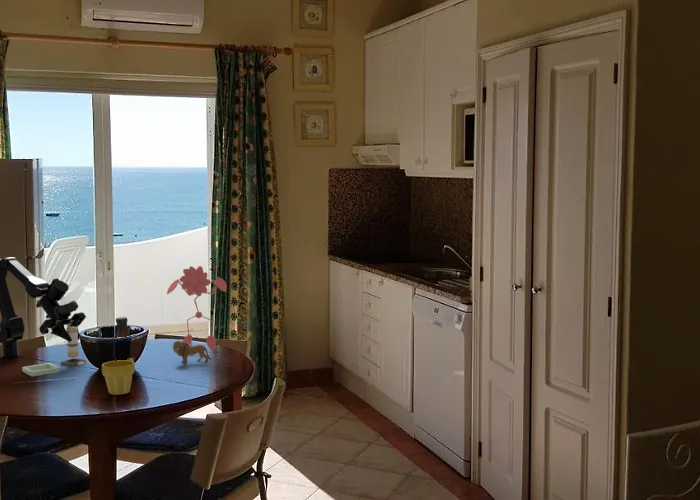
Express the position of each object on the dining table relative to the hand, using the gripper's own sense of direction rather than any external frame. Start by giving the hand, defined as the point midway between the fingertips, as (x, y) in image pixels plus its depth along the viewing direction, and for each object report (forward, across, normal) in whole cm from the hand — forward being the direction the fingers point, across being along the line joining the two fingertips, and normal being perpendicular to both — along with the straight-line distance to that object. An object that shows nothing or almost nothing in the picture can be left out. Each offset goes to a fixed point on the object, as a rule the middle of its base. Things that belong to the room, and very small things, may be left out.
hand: (75, 340), depth 303 cm
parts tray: (+5, -14, +9) cm, 17 cm away
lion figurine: (+33, +23, -19) cm, 44 cm away
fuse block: (+6, 0, +8) cm, 10 cm away
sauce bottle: (+23, +1, -9) cm, 25 cm away
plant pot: (+36, -20, -22) cm, 46 cm away
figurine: (+26, +38, -12) cm, 48 cm away
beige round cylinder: (+4, 0, +5) cm, 6 cm away
